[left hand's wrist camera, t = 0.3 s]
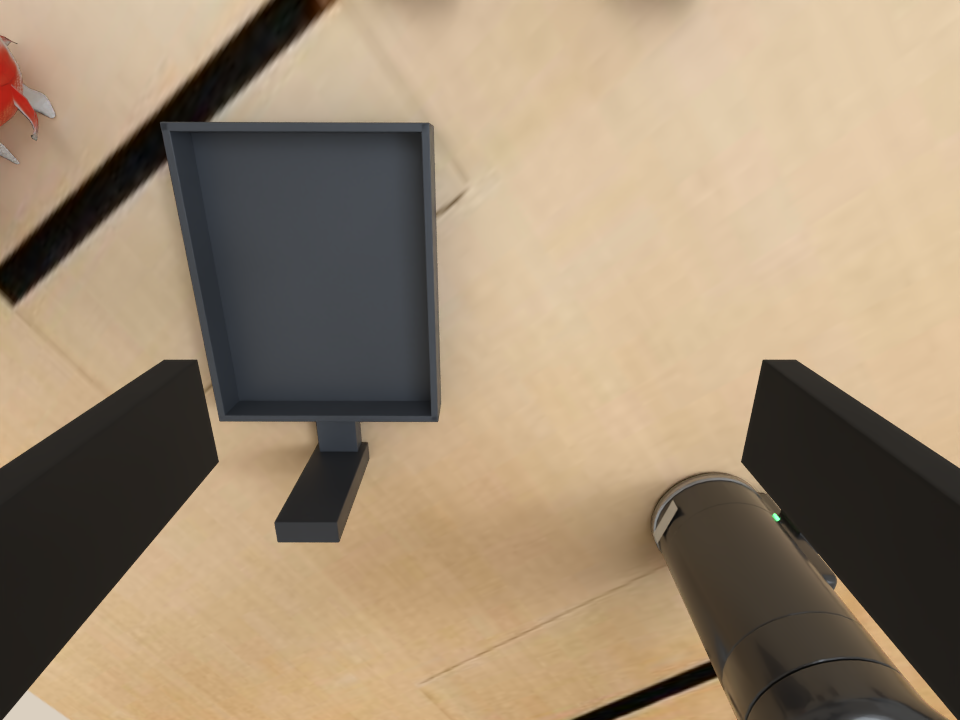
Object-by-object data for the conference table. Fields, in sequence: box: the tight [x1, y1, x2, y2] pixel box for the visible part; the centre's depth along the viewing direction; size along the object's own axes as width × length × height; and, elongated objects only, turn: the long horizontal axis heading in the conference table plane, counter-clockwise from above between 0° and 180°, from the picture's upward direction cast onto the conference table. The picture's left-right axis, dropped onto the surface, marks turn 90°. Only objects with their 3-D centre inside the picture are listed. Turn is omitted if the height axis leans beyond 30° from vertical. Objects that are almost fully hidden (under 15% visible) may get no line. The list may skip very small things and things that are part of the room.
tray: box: [160, 122, 441, 542], centre depth 34 cm, size 25×16×10 cm, turn 0°
